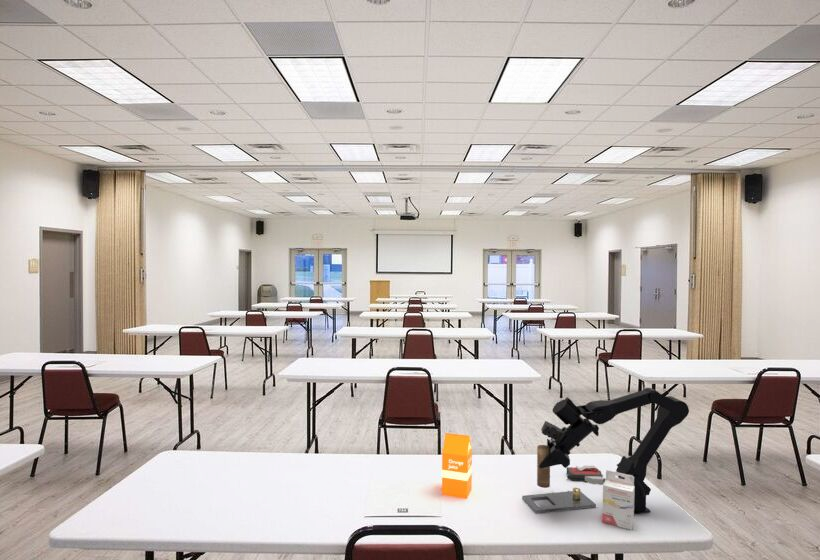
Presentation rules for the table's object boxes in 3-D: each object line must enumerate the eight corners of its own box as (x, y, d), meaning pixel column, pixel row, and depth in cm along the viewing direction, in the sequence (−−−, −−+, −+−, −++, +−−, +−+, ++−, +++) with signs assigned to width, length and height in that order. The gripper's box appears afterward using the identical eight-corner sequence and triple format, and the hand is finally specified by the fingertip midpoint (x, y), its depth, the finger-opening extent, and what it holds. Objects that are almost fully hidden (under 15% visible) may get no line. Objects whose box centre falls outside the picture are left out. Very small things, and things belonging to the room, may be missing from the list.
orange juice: (467, 498, 162) (467, 439, 161) (441, 494, 164) (441, 436, 164) (471, 488, 169) (472, 432, 169) (447, 485, 172) (447, 429, 171)
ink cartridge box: (601, 522, 147) (602, 474, 146) (604, 515, 151) (604, 469, 151) (632, 530, 142) (633, 481, 142) (634, 523, 147) (635, 475, 146)
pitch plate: (596, 507, 156) (596, 495, 156) (535, 513, 152) (535, 500, 152) (579, 493, 166) (579, 481, 166) (522, 498, 162) (522, 486, 162)
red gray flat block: (568, 484, 174) (626, 486, 173) (569, 472, 174) (626, 474, 172) (562, 473, 183) (617, 475, 181) (563, 462, 183) (617, 464, 181)
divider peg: (552, 487, 156) (552, 448, 156) (540, 488, 156) (540, 449, 155) (546, 481, 160) (546, 444, 160) (535, 482, 159) (535, 445, 159)
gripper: (554, 406, 166) (521, 436, 168) (559, 423, 147) (521, 456, 150) (578, 431, 164) (544, 460, 167) (586, 451, 146) (547, 484, 149)
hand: (539, 464), depth 158 cm, fingers closed on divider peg, 4 cm apart
